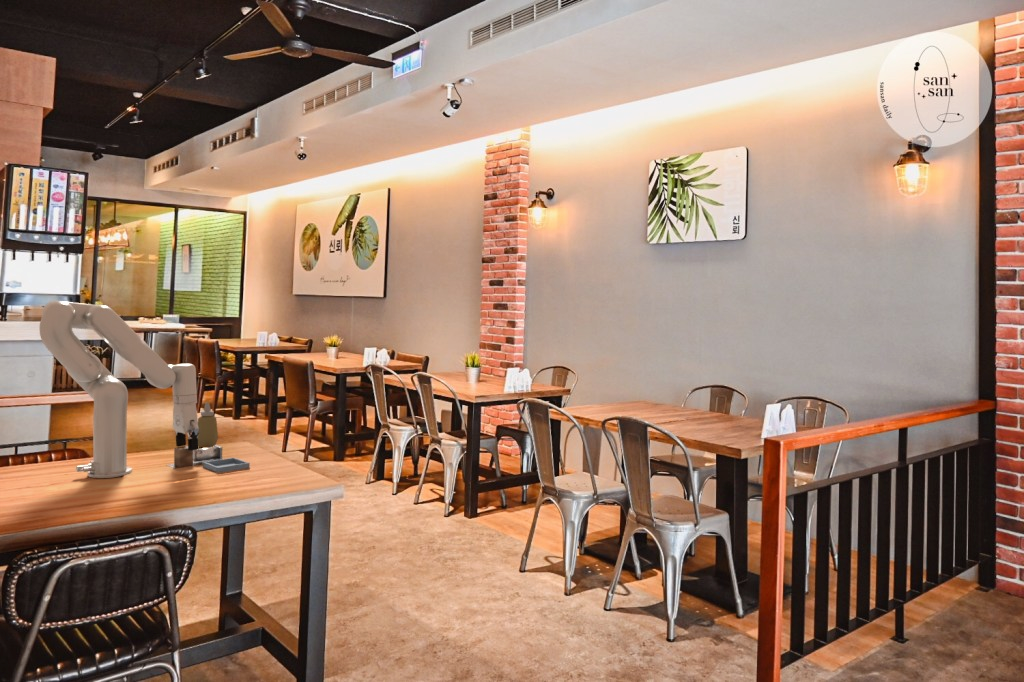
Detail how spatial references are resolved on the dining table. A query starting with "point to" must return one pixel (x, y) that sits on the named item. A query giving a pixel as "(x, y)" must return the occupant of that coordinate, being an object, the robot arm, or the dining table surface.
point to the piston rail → (191, 465)
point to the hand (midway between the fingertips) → (187, 447)
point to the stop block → (183, 456)
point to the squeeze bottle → (207, 428)
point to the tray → (226, 465)
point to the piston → (207, 453)
